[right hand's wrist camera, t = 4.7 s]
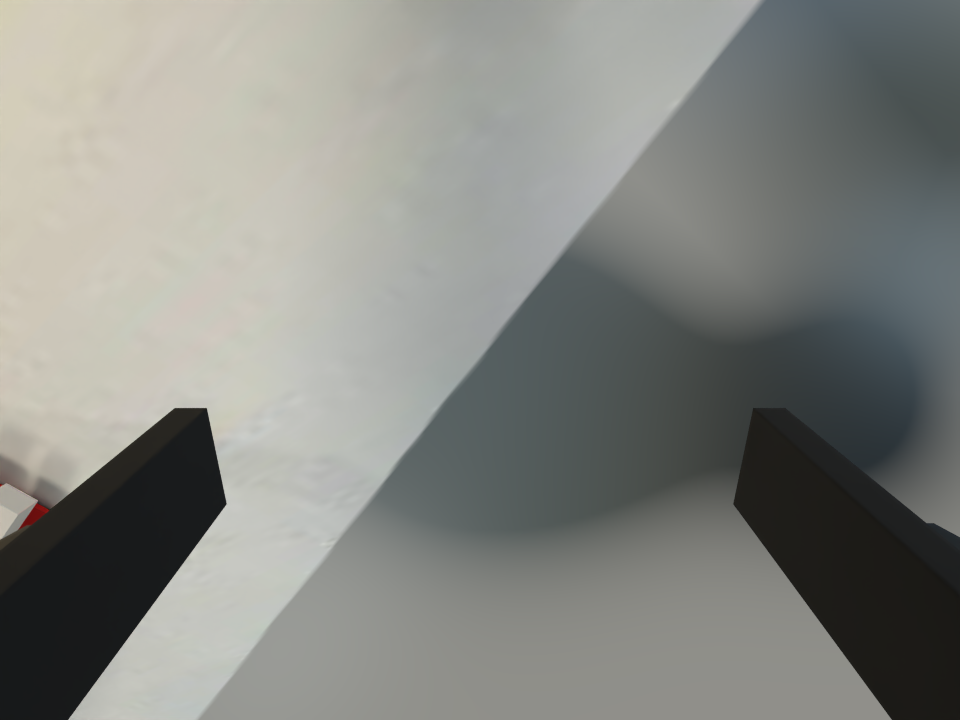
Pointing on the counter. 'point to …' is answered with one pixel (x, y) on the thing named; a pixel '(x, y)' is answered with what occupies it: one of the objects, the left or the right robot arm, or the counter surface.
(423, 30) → the counter surface
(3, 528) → the toy
